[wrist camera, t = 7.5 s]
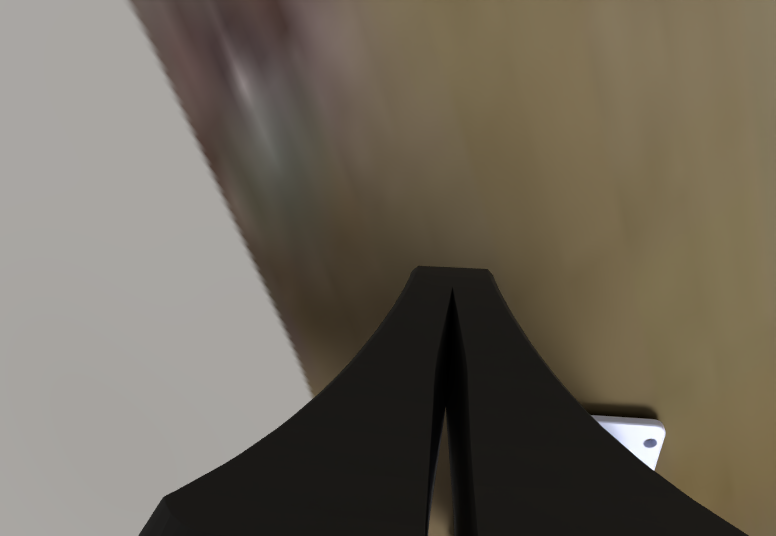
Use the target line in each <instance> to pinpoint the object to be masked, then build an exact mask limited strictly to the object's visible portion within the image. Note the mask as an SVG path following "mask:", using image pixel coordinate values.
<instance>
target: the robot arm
mask: <svg viewBox="0 0 776 536" xmlns="http://www.w3.org/2000/svg"><path fill="white" fill-rule="evenodd" d="M445 408H446V417H447V431H448V444H449V458H450V472H451V485H452V499H453V512H454V536H748V535H747V534H745V533H744V532H742V531H741V530H739V529H738V528H736V527H734V526H733V525H731V524H730V523H728V522H727V521H725V520H724V519H722V518H721V517H719V516H717V515H716V514H714V513H713V512H711V511H710V510H708V509H707V508H705V507H704V506H702V505H701V504H699V503H697V502H696V501H694V500H693V499H692V498H690V497H689V496H687V495H686V494H684V493H683V492H682V491H680V490H679V489H678V488H676V487H675V486H674V485H672V484H671V483H670V482H668V481H667V480H666V479H664V478H663V477H662V476H660V475H659V474H658V473H656V472H655V471H654V469H655V466H656V463H657V460H658V457H659V453H660V450H661V447H662V444H663V441H664V437H665V428H664V425H663V424H662V422H660V421H659V420H655V419H644V418H628V417H613V416H598V415H590V414H589V413H588V412H587V411H586V410H585V409H584V408H583V407H582V405H581V404H580V403H579V402H578V401H577V400H576V399H575V398H574V397H573V396H572V395H571V394H570V392H569V391H568V390H567V389H566V388H565V387H564V385H563V384H562V383H561V382H560V381H559V379H558V378H557V377H556V376H555V375H554V373H553V372H552V371H551V369H550V368H549V367H548V366H547V364H546V363H545V362H544V360H543V359H542V358H541V356H540V355H539V354H538V352H537V351H536V349H535V348H534V347H533V345H532V344H531V342H530V341H529V339H528V338H527V336H526V335H525V333H524V332H523V330H522V329H521V327H520V326H519V324H518V322H517V321H516V319H515V318H514V316H513V314H512V313H511V311H510V309H509V307H508V305H507V304H506V302H505V300H504V298H503V296H502V294H501V292H500V290H499V288H498V286H497V284H496V282H495V279H494V277H493V275H492V274H491V273H490V272H489V270H488V269H472V268H451V267H430V266H418V267H417V268H415V269H414V270H413V271H412V272H411V275H410V278H409V280H408V282H407V284H406V286H405V288H404V289H403V291H402V293H401V295H400V296H399V298H398V299H397V301H396V303H395V304H394V306H393V307H392V309H391V310H390V312H389V313H388V315H387V316H386V317H385V319H384V320H383V322H382V323H381V325H380V326H379V327H378V329H377V330H376V331H375V333H374V334H373V335H372V337H371V338H370V339H369V340H368V341H367V343H366V344H365V345H364V346H363V347H362V349H361V350H360V351H359V352H358V353H357V355H356V356H355V357H354V358H353V359H352V361H351V362H350V363H349V364H348V365H347V366H346V367H345V368H344V369H343V370H342V371H341V372H340V373H339V374H338V376H337V377H336V378H335V379H334V380H332V381H331V382H330V383H329V384H328V385H327V386H326V387H325V388H324V389H323V390H322V391H321V392H320V393H319V394H318V395H317V396H316V397H314V398H313V399H312V400H311V401H310V402H309V403H307V404H306V405H305V406H304V407H303V408H302V409H301V410H299V411H298V412H297V413H296V414H295V415H294V416H292V417H291V418H290V419H289V420H287V421H286V422H285V423H283V424H282V425H281V426H280V427H278V428H277V429H276V430H274V431H273V432H271V433H270V434H268V435H267V436H266V437H264V438H263V439H261V440H260V441H259V442H257V443H255V444H254V445H253V446H251V447H250V448H248V449H247V450H245V451H244V452H243V453H241V454H239V455H238V456H236V457H235V458H233V459H232V460H230V461H228V462H227V463H225V464H223V465H222V466H220V467H218V468H216V469H214V470H213V471H211V472H209V473H207V474H205V475H203V476H202V477H200V478H198V479H196V480H194V481H193V482H191V483H189V484H187V485H185V486H183V487H182V488H180V489H178V490H176V491H174V492H172V493H170V494H168V495H166V496H165V497H163V499H162V500H161V501H160V503H159V505H158V506H157V508H156V509H155V511H154V512H153V514H152V515H151V517H150V519H149V520H148V522H147V523H146V525H145V526H144V528H143V529H142V531H141V532H140V534H139V536H428V529H429V520H430V511H431V504H432V497H433V490H434V483H435V477H436V470H437V463H438V456H439V449H440V442H441V435H442V428H443V422H444V415H445ZM647 439H651V440H647ZM646 440H647V441H646Z"/></svg>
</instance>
